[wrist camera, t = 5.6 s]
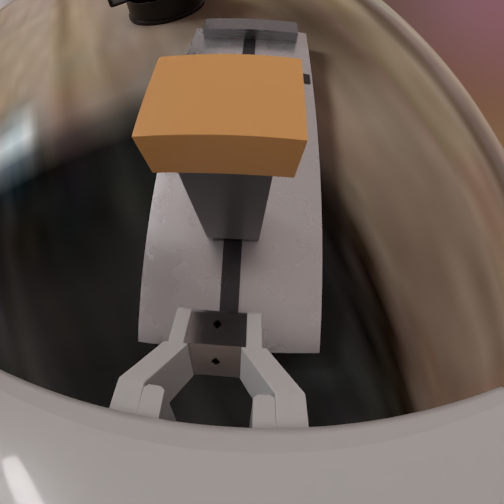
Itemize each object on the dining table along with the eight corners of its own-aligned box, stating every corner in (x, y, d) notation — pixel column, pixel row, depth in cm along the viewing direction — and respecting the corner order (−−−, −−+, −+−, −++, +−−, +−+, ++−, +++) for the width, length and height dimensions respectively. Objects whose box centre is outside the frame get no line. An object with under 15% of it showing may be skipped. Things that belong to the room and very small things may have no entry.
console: (311, 348, 17) (325, 355, 14) (148, 338, 17) (130, 343, 13) (302, 48, 22) (308, 24, 19) (198, 43, 22) (195, 19, 19)
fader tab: (267, 248, 16) (307, 140, 6) (197, 244, 16) (131, 136, 6) (269, 199, 16) (301, 58, 6) (202, 196, 16) (159, 57, 6)
